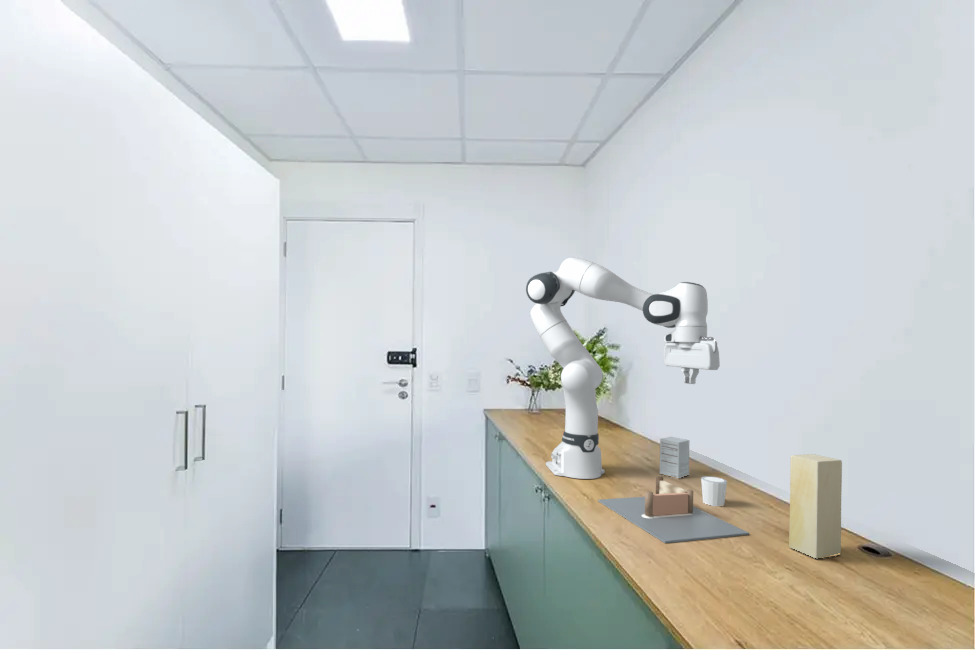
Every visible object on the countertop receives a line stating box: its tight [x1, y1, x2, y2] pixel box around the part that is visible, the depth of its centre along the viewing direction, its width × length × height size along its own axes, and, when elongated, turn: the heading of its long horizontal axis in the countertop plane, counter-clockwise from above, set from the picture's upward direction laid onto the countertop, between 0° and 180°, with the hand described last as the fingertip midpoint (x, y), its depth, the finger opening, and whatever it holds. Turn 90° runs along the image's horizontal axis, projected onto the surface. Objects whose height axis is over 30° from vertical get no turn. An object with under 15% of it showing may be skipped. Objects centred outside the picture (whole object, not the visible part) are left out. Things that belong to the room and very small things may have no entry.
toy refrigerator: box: [788, 453, 843, 560], centre depth 113 cm, size 8×7×21 cm
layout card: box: [597, 496, 750, 544], centre depth 132 cm, size 30×24×1 cm
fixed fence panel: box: [655, 475, 687, 494], centre depth 141 cm, size 13×2×6 cm, turn 17°
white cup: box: [700, 476, 728, 507], centre depth 145 cm, size 7×7×7 cm
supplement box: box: [659, 436, 690, 479], centre depth 175 cm, size 7×7×13 cm
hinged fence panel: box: [644, 489, 694, 516], centre depth 132 cm, size 14×2×6 cm, turn 105°
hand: (689, 383), depth 148 cm, fingers closed
